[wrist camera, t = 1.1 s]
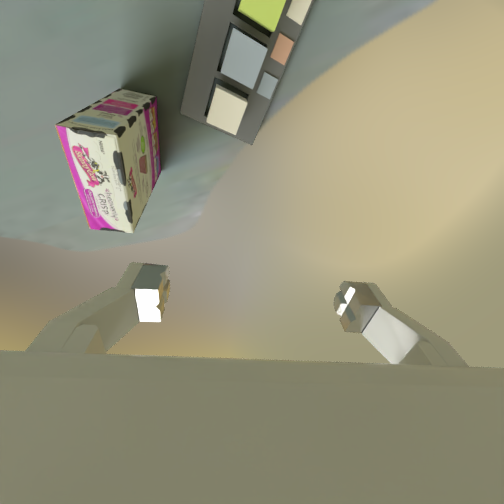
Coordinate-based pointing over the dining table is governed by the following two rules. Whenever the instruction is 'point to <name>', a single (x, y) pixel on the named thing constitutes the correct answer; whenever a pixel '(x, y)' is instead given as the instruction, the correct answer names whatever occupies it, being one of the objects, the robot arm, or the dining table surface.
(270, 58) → the keypad board
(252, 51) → the key slate
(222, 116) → the key ivory
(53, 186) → the dining table surface
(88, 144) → the candy bar box
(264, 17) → the lime green cube
